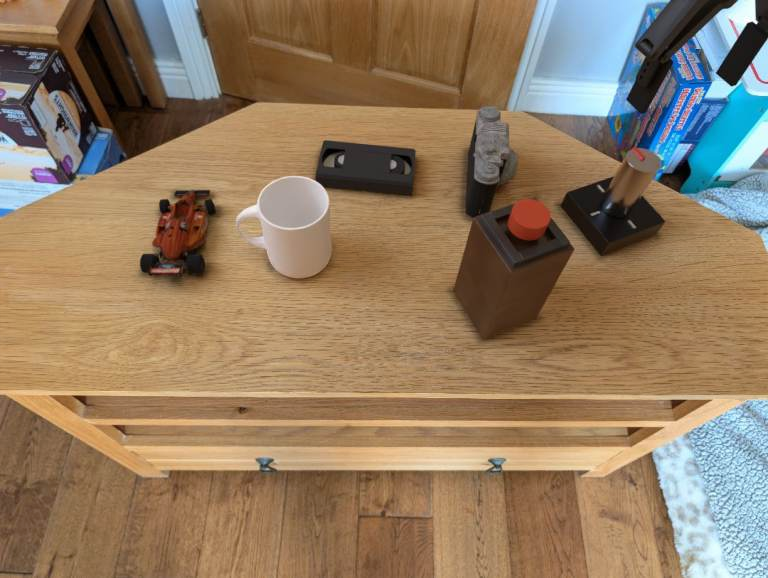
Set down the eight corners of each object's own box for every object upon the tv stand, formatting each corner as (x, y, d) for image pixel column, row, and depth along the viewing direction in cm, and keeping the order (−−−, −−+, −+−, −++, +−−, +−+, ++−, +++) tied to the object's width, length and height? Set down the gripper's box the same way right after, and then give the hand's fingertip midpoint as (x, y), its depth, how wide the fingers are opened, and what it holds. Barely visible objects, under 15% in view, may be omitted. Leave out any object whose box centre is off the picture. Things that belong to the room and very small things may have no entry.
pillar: (536, 318, 72) (577, 244, 59) (482, 340, 70) (513, 268, 57) (504, 271, 76) (536, 191, 63) (452, 290, 74) (474, 212, 60)
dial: (637, 212, 79) (669, 164, 71) (612, 221, 78) (642, 174, 70) (618, 191, 81) (647, 142, 73) (594, 199, 80) (620, 151, 72)
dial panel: (656, 234, 81) (666, 220, 78) (600, 256, 78) (609, 242, 75) (614, 187, 85) (622, 172, 83) (560, 205, 83) (567, 191, 80)
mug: (248, 226, 78) (235, 171, 69) (334, 231, 78) (332, 177, 69) (238, 277, 73) (221, 226, 64) (329, 282, 74) (326, 231, 65)
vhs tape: (414, 158, 87) (415, 148, 85) (411, 196, 82) (412, 186, 81) (323, 149, 87) (323, 139, 85) (315, 186, 83) (315, 177, 81)
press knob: (552, 233, 59) (558, 221, 57) (520, 245, 58) (525, 233, 56) (532, 207, 61) (537, 194, 59) (500, 217, 60) (504, 205, 58)
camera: (509, 223, 80) (527, 174, 72) (462, 218, 81) (475, 168, 72) (508, 152, 88) (525, 100, 80) (466, 147, 89) (478, 95, 80)
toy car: (221, 193, 81) (215, 171, 77) (201, 288, 72) (193, 269, 68) (167, 191, 81) (158, 170, 77) (140, 287, 72) (129, 267, 68)
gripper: (869, -152, 52) (738, 51, 70) (662, -116, 46) (576, 97, 64) (940, -118, 49) (783, 87, 67) (726, -73, 42) (616, 140, 60)
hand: (681, 92), depth 65 cm, fingers open, 13 cm apart
